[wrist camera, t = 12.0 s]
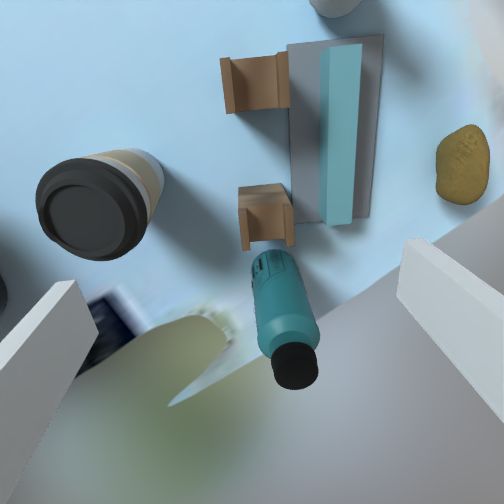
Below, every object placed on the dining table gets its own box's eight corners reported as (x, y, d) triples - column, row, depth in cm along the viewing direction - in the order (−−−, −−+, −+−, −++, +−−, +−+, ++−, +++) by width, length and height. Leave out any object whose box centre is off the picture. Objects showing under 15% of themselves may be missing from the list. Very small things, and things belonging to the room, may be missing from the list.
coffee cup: (164, 134, 36) (119, 156, 22) (181, 207, 40) (152, 264, 26) (87, 143, 36) (-3, 172, 22) (112, 216, 40) (49, 276, 27)
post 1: (229, 109, 35) (226, 114, 26) (224, 68, 33) (219, 58, 24) (277, 104, 35) (290, 107, 26) (275, 63, 33) (288, 51, 24)
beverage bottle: (255, 238, 42) (267, 343, 24) (301, 247, 43) (345, 354, 25) (245, 278, 45) (250, 398, 27) (289, 285, 46) (320, 406, 28)
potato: (437, 200, 41) (479, 223, 34) (399, 166, 38) (435, 182, 31) (482, 157, 38) (537, 171, 31) (445, 117, 36) (495, 122, 29)
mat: (292, 222, 41) (293, 224, 41) (286, 45, 32) (287, 44, 32) (366, 215, 41) (368, 216, 41) (381, 35, 32) (384, 34, 31)
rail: (318, 214, 40) (326, 226, 37) (319, 52, 32) (330, 47, 28) (341, 212, 40) (351, 223, 37) (348, 49, 32) (362, 43, 28)
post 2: (241, 217, 41) (242, 251, 32) (238, 187, 39) (238, 214, 30) (282, 212, 41) (294, 245, 32) (280, 183, 39) (293, 209, 30)
